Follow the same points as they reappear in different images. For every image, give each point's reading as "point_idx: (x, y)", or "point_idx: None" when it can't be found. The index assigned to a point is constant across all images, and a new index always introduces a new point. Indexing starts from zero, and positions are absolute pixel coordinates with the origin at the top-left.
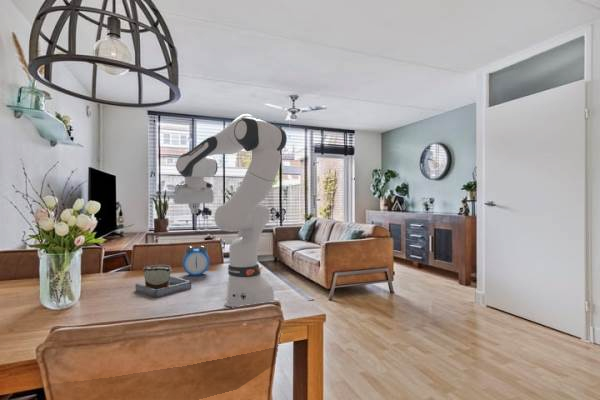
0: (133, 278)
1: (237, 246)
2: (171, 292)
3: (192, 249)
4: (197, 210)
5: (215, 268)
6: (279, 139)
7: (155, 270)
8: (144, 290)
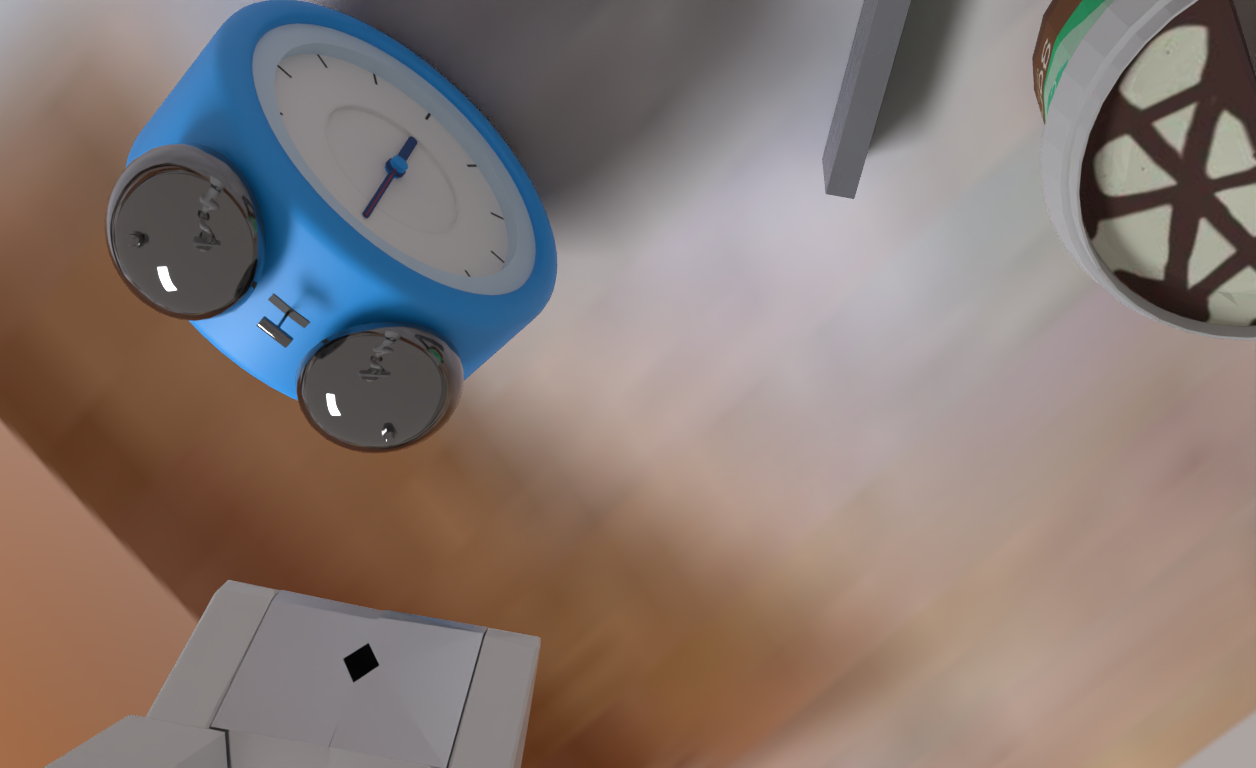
0: (879, 592)
1: None
2: None
3: (369, 327)
4: (219, 670)
5: (29, 138)
6: None
7: None
8: None
